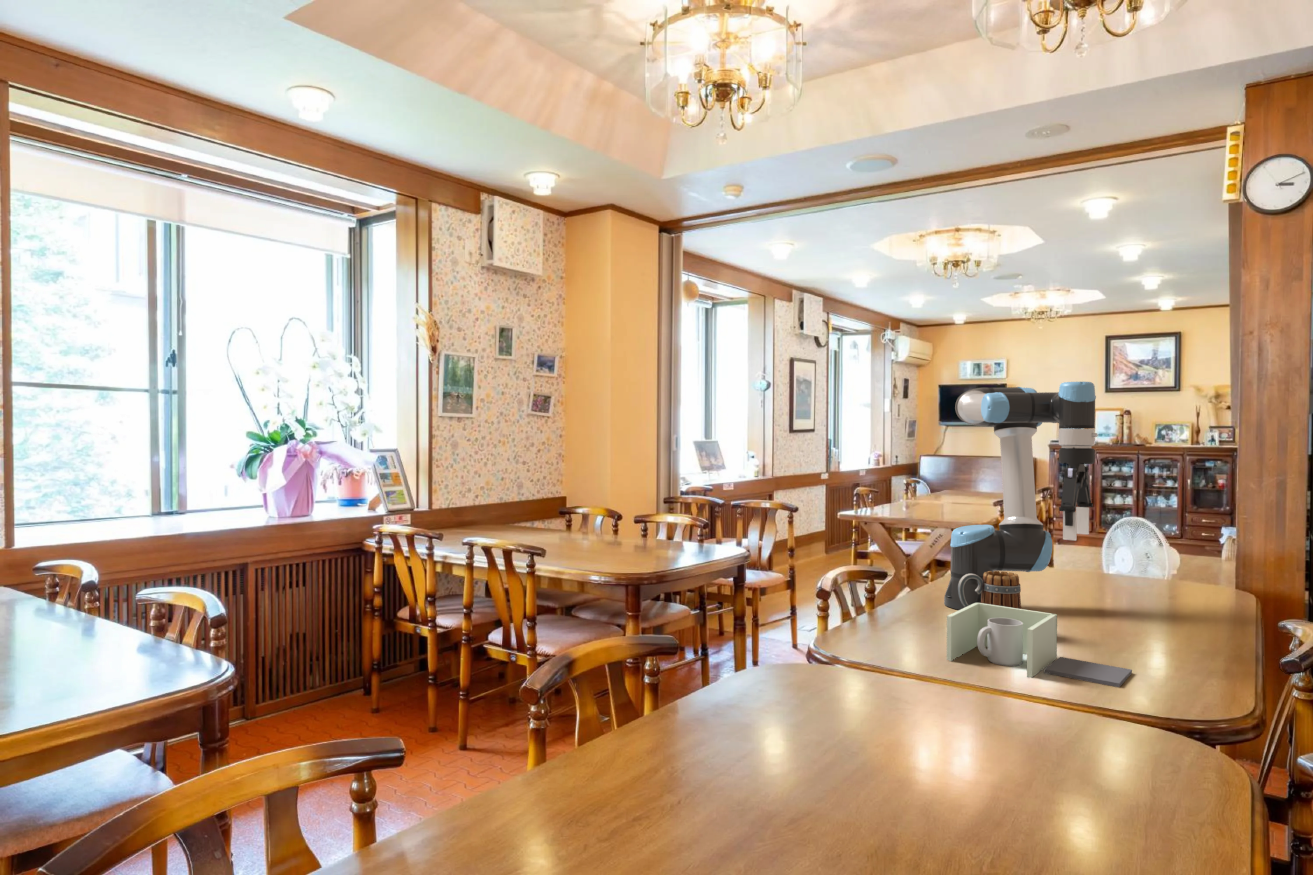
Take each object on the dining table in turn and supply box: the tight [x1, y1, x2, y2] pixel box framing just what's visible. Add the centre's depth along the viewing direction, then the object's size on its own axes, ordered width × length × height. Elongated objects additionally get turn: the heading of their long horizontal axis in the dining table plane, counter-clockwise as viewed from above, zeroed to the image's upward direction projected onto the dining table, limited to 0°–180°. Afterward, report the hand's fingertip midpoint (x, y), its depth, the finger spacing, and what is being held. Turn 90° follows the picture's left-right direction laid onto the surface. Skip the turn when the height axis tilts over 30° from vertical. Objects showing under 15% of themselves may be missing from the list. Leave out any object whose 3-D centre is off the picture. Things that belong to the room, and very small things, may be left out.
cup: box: [977, 618, 1024, 667], centre depth 176 cm, size 7×10×9 cm
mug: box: [958, 571, 1022, 609], centre depth 201 cm, size 16×11×15 cm
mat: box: [1043, 656, 1133, 688], centre depth 168 cm, size 14×12×1 cm
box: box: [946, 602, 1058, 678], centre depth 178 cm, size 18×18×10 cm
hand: (1076, 537), depth 187 cm, fingers open, 13 cm apart
